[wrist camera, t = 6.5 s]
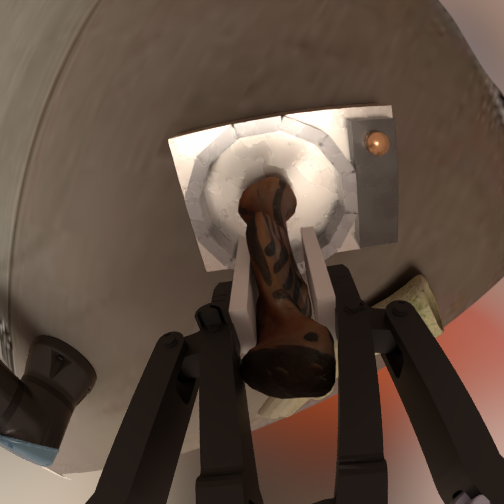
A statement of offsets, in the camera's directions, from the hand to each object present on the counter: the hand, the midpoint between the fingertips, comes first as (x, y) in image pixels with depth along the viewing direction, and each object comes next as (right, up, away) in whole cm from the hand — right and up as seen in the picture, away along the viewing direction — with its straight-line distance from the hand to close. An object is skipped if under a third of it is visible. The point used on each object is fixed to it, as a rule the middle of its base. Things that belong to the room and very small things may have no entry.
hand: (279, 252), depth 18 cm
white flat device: (+2, +7, +12) cm, 14 cm away
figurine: (0, +4, +8) cm, 9 cm away
